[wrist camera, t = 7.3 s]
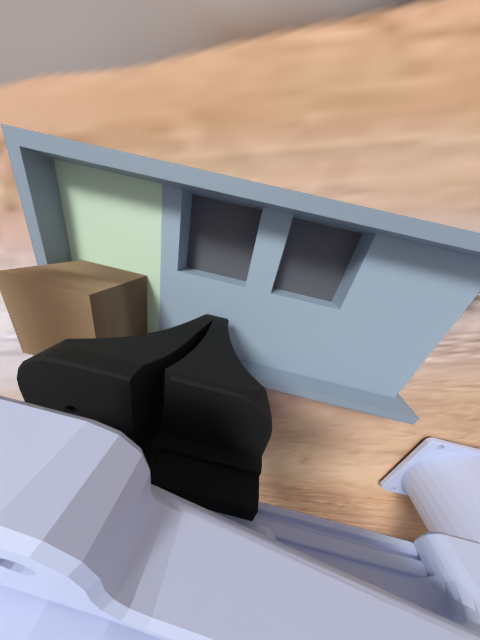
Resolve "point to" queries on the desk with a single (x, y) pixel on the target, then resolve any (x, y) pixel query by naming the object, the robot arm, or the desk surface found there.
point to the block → (73, 303)
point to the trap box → (257, 265)
